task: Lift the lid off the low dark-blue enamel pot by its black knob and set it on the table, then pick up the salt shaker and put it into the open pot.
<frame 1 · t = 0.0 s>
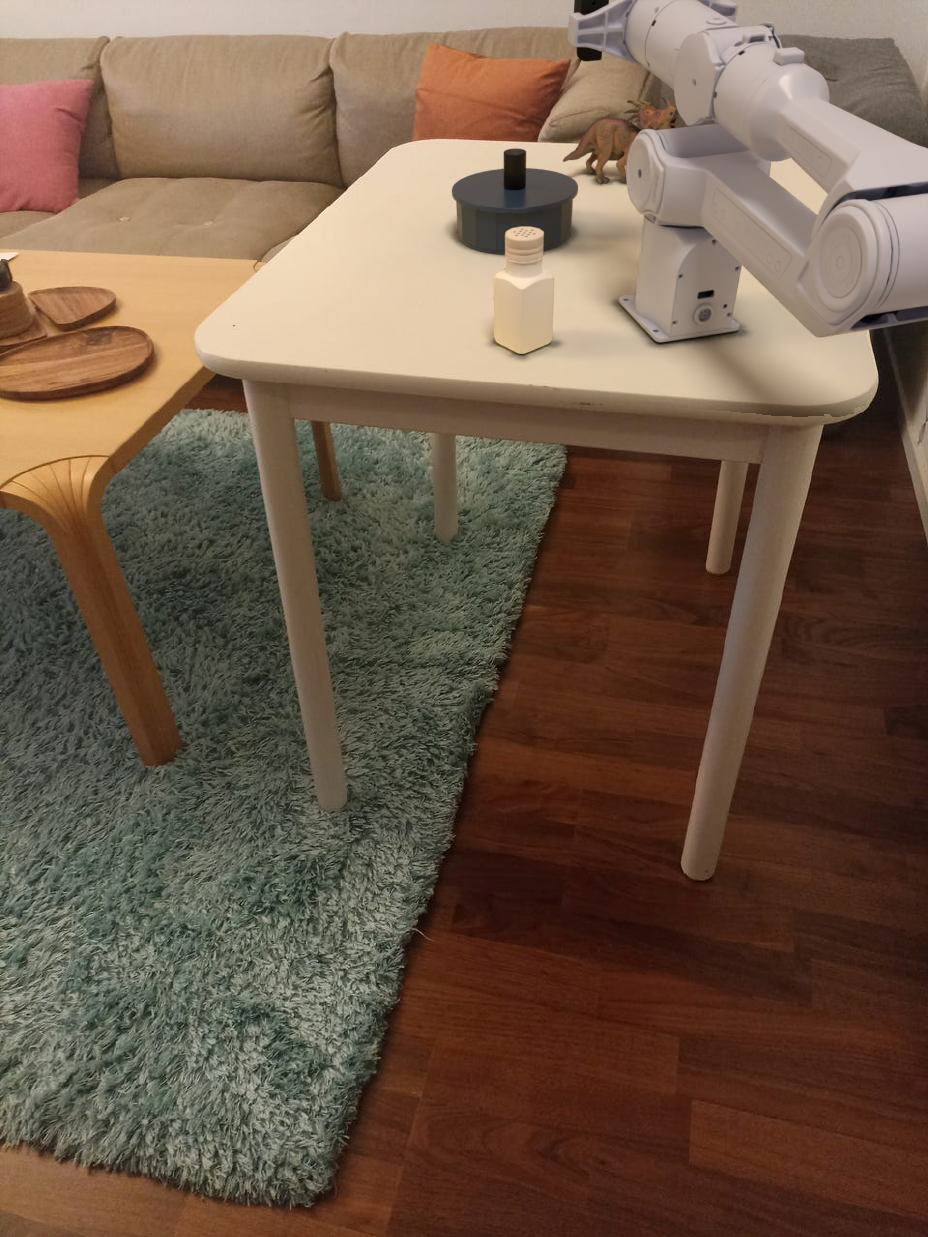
salt shaker: (523, 345, 76), on the table
pot: (514, 233, 96), on the table
lid: (514, 191, 93), point 4 cm above the table, touching pot
dinosaur figurine: (616, 178, 110), on the table
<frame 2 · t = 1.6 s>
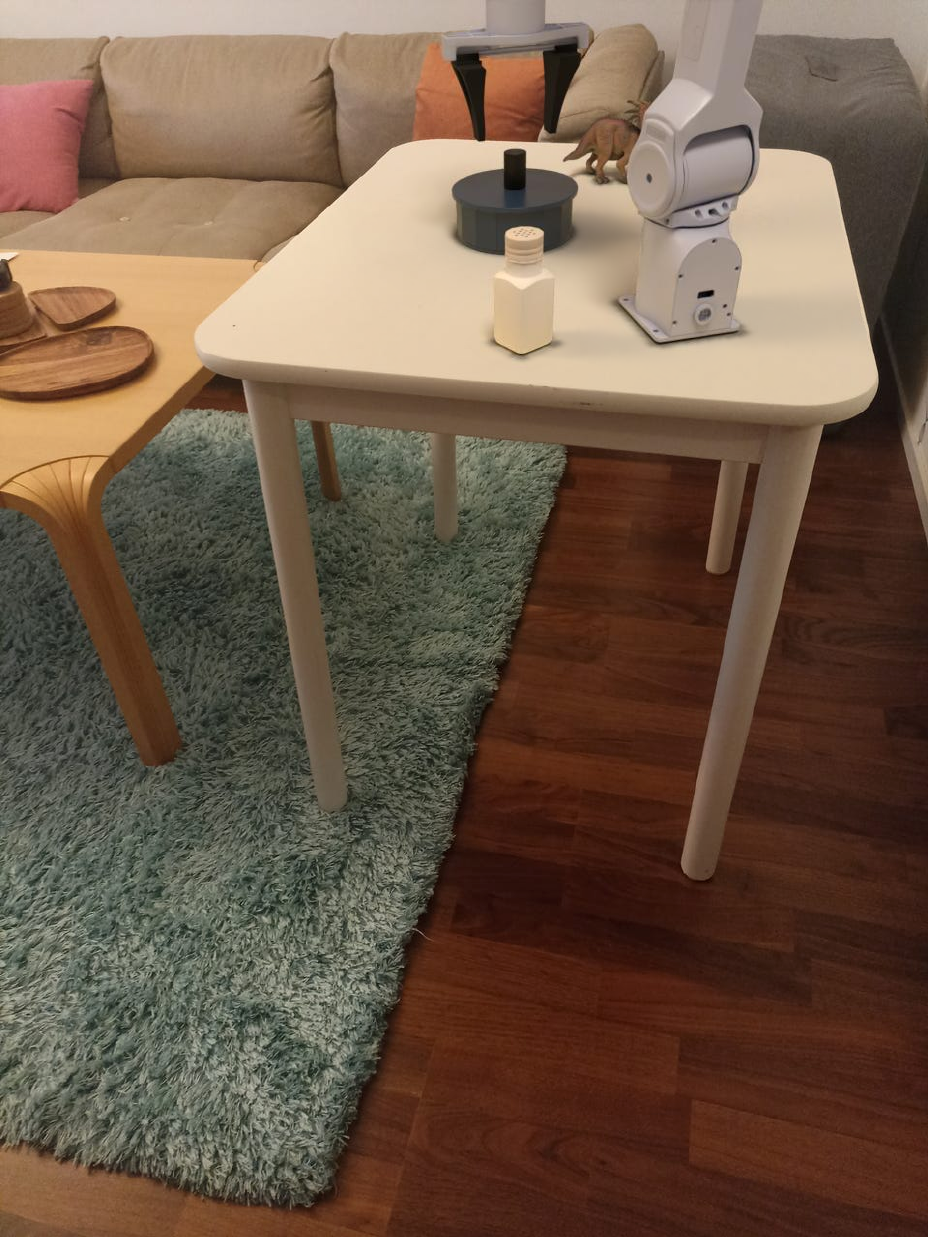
hand: (515, 135, 89), 10 cm above the table, tool pointing down, fingers open, 7 cm apart
nothing on the table moved.
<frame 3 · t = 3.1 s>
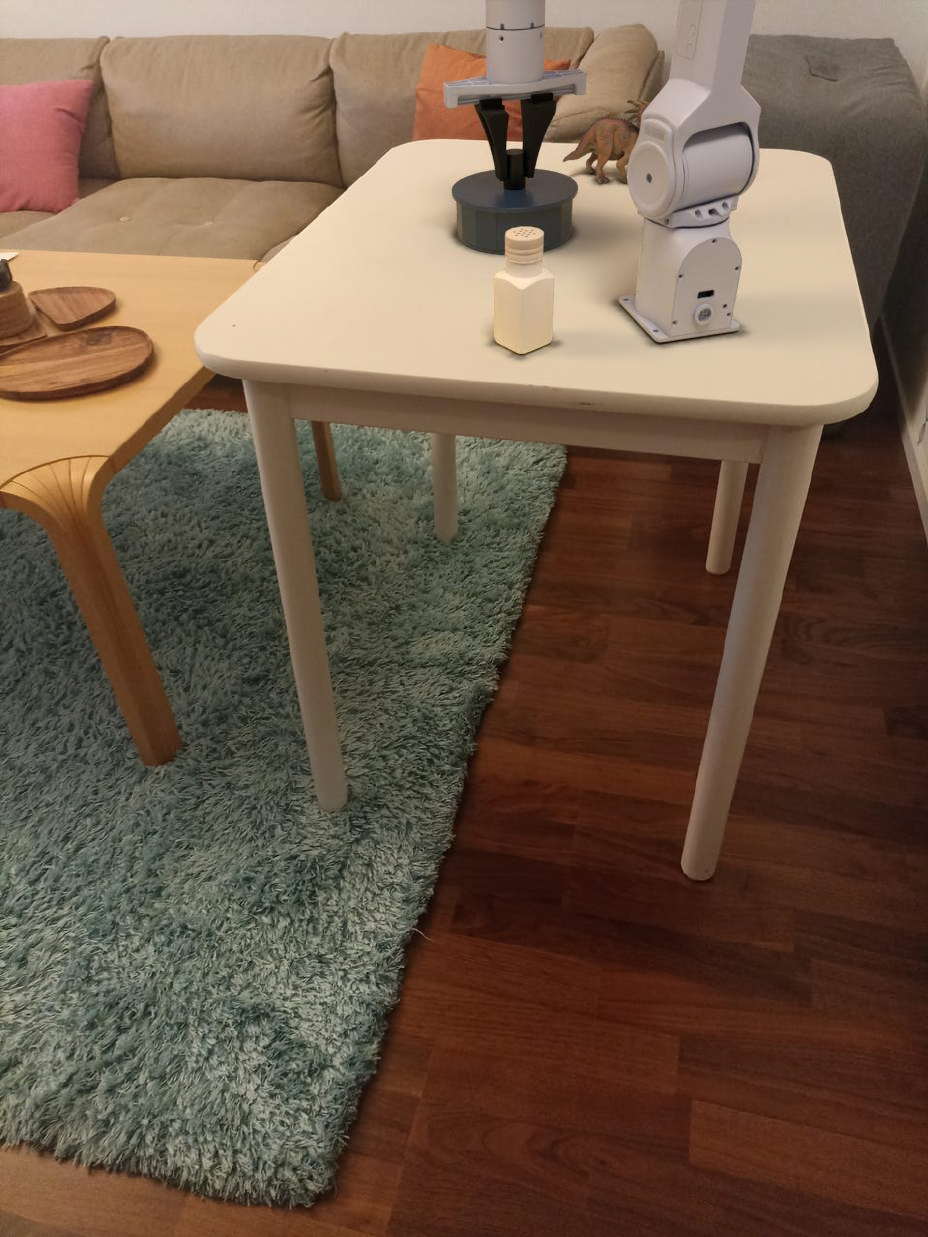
hand: (514, 176, 92), 6 cm above the table, tool pointing down, fingers closed on lid, 2 cm apart
lid: (514, 191, 93), point 4 cm above the table, touching gripper, pot
everything else where it was.
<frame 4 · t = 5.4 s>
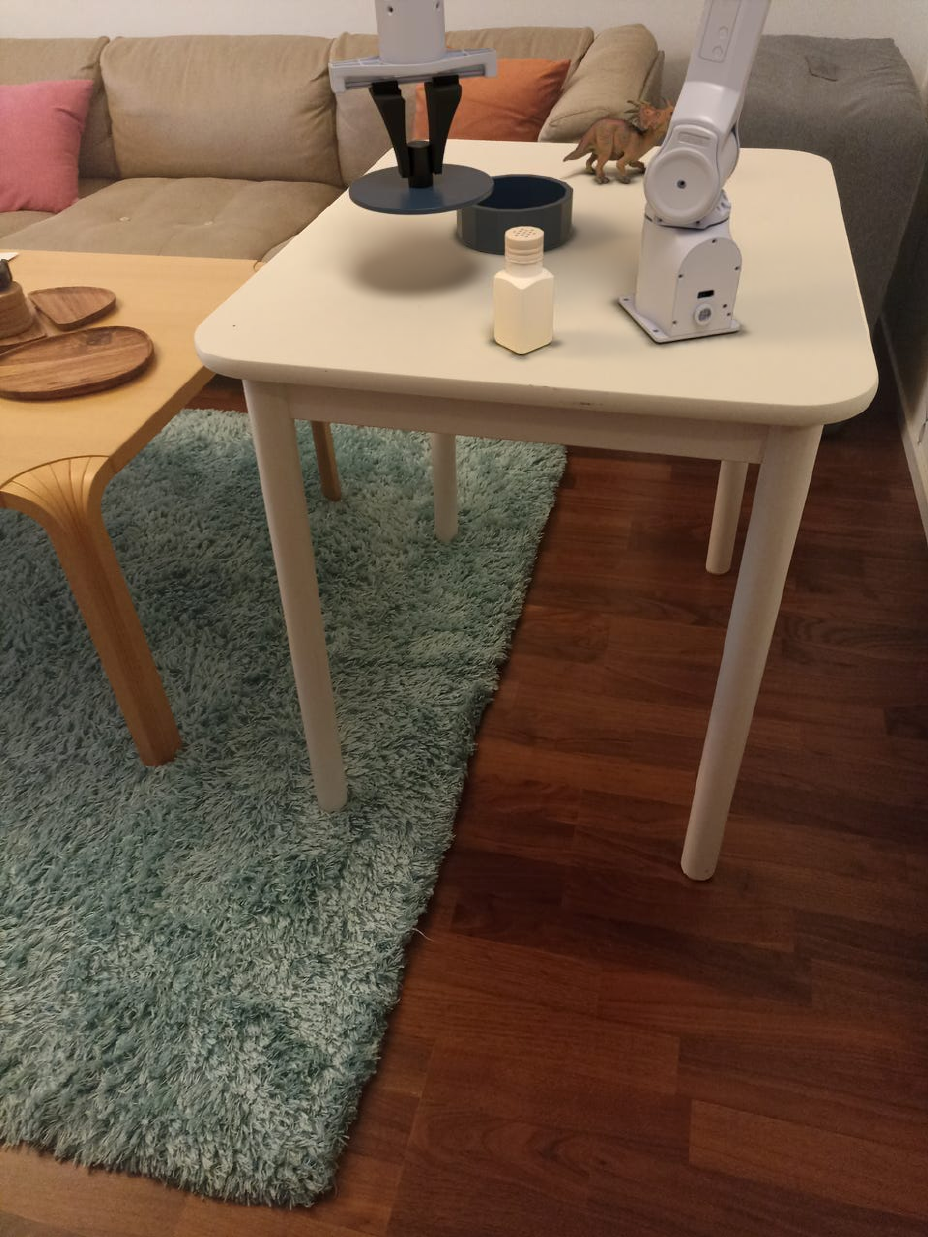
hand: (420, 173, 80), 10 cm above the table, tool pointing down, fingers closed on lid, 2 cm apart
lid: (421, 190, 81), point 9 cm above the table, touching gripper
everything else where it was.
when the fingers open (2 cm above the table, at t = 7.7 s): lid stays where it is, point 1 cm above the table.
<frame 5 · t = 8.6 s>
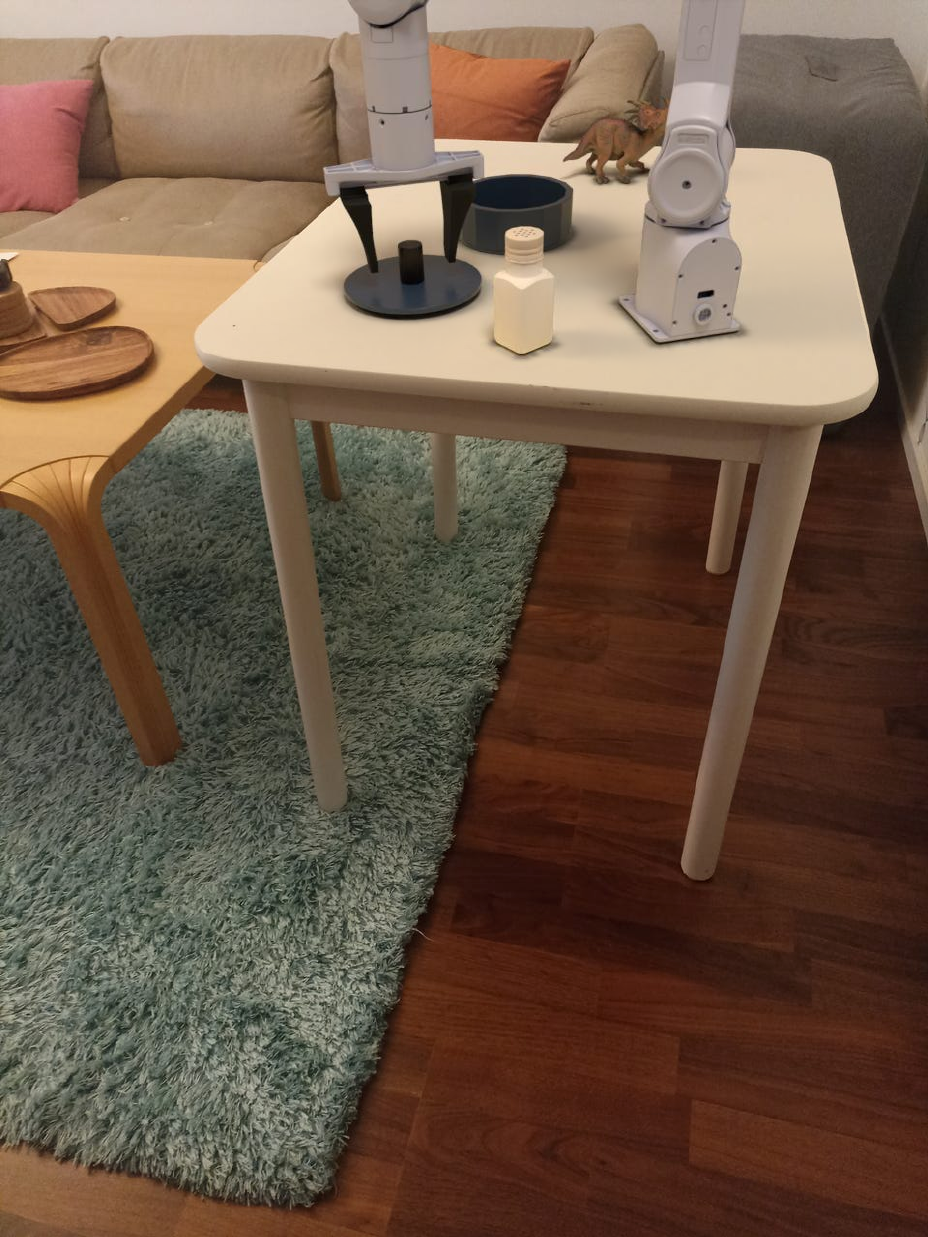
hand: (412, 264, 84), 3 cm above the table, tool pointing down, fingers open, 7 cm apart
lid: (413, 285, 85), point 1 cm above the table
everything else where it was.
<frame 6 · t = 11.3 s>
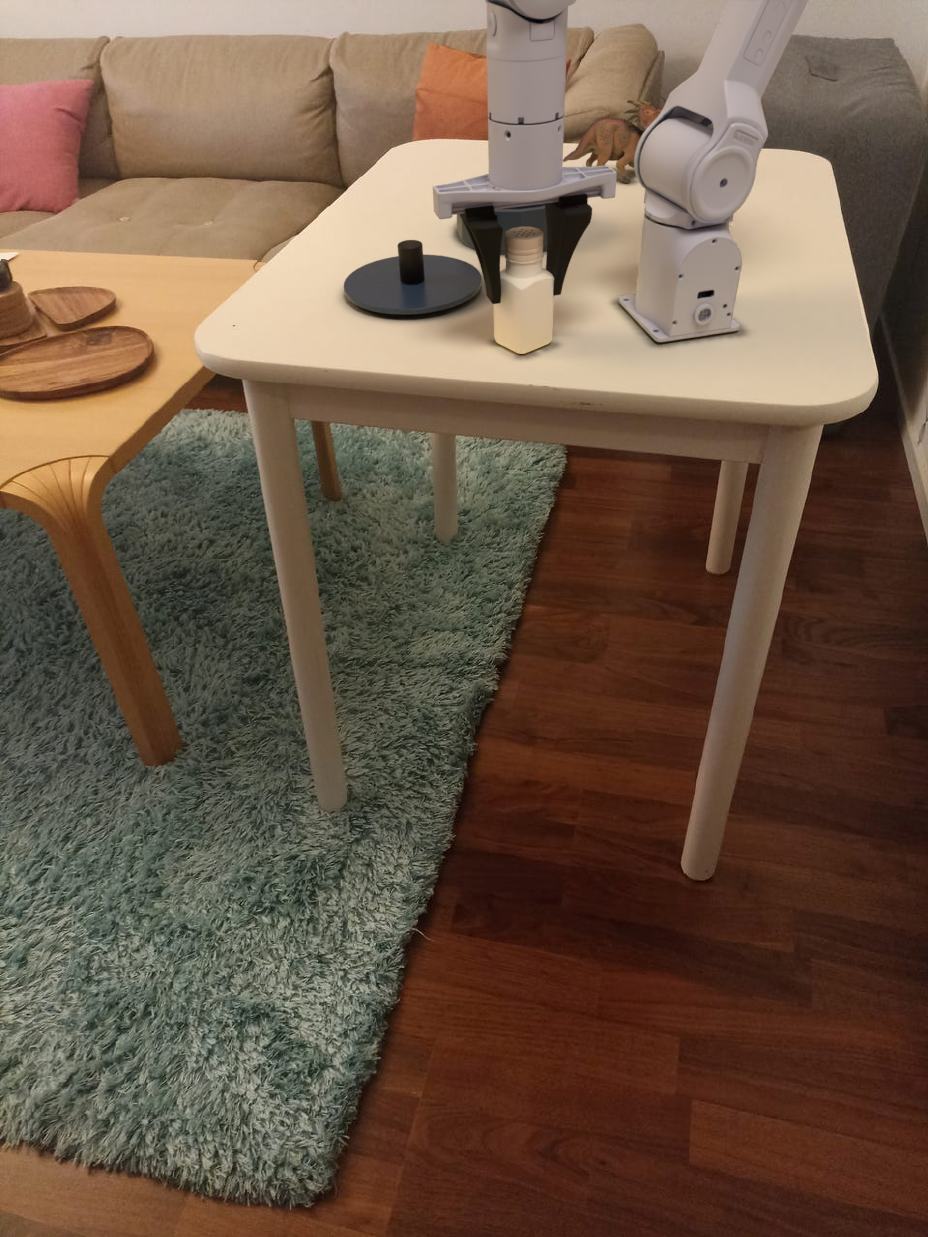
hand: (524, 294, 73), 4 cm above the table, tool pointing down, fingers closed on salt shaker, 5 cm apart
salt shaker: (523, 345, 76), on the table, touching gripper
everything else where it was.
when the fingers open (5 cm above the table, at t = 17.4 s): salt shaker stays where it is, resting on pot.
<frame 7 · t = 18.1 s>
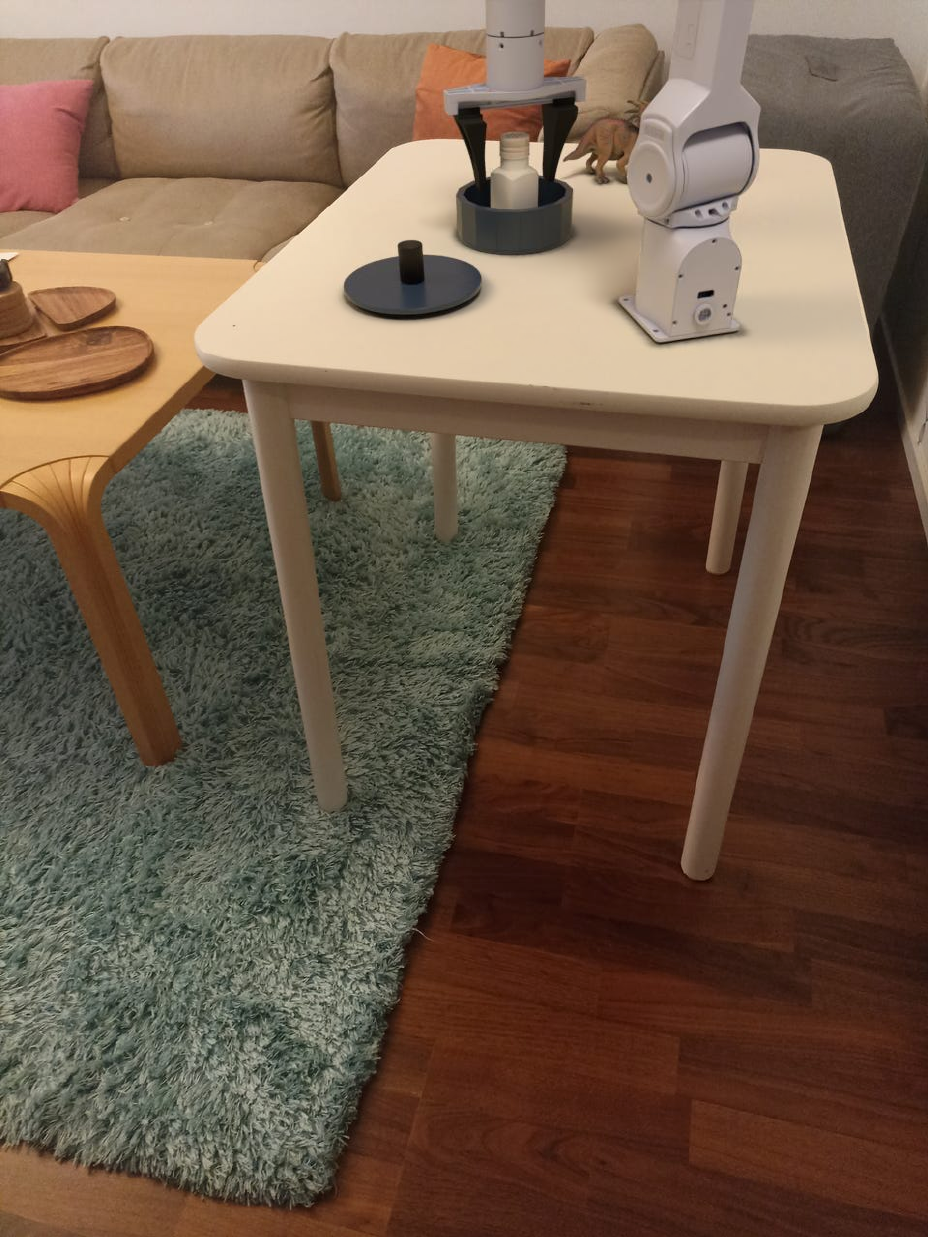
hand: (514, 182, 92), 5 cm above the table, tool pointing down, fingers open, 7 cm apart
salt shaker: (514, 231, 96), resting on pot
everything else where it was.
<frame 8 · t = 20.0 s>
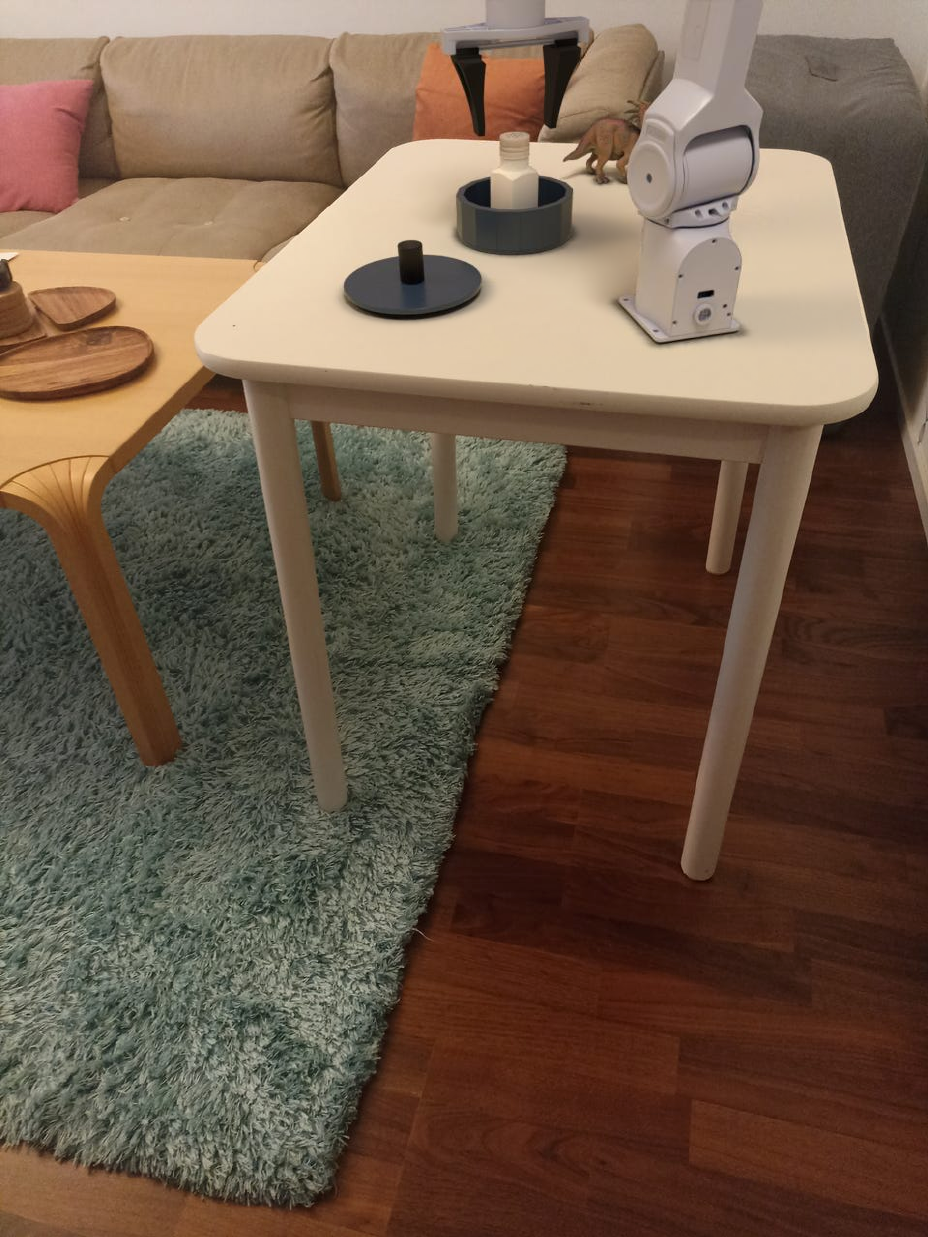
hand: (514, 130, 89), 10 cm above the table, tool pointing down, fingers open, 7 cm apart
nothing on the table moved.
at the end: salt shaker inside the target area in the pot (0.0 cm from its centre), point 0.2 cm above the pot's base; lid inside the target area (0.0 cm from its centre), point 0.6 cm above the table; the gripper is holding nothing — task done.
